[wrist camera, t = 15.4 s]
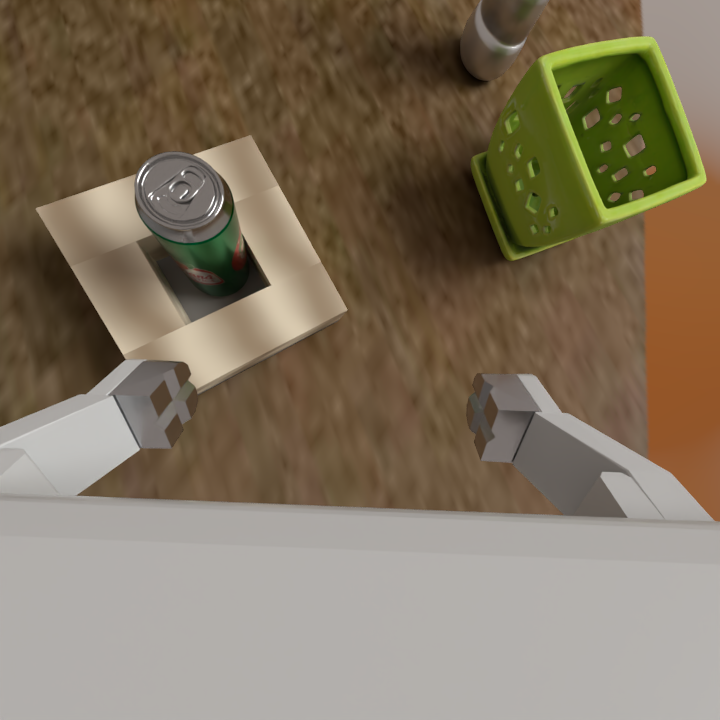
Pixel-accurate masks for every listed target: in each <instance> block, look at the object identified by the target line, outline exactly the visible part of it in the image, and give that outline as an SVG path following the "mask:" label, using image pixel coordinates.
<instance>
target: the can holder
mask: <svg viewBox="0 0 720 720" xmlns="http://www.w3.org/2000/svg"><path fill="white" fill-rule="evenodd" d="M194 155H195V156H197V157H199V158H201V159H202V160H204V161H205V162H207V163H208V164H209V165H210V166H211V167H212V168H213V169H214V170H215V171H216V172H218V173H219V174H220V175H221V176H222V177H223V179H224V180H225V181H226V183H227V184H228V186H229V188H230V190H231V192H232V195H233V199H234V203H235V207H236V212H237V216H238V220H239V224H240V228H241V233H242V237H243V241H244V245H245V249H246V254H247V258H248V262H249V268H250V271H249V277H248V280H247V282H246V283H245V285H244V286H243V287H242V288H241V289H240V290H239V291H237V292H236V293H234V294H231V295H229V296H222V297H217V296H211V295H208V294H205V293H203V292H202V291H200V290H199V289H197V288H196V287H195V286H194V285H193V284H192V282H191V281H190V280H189V279H188V277H187V276H186V275H185V274H184V272H183V271H182V270H181V269H180V268H179V266H178V265H177V264H176V263H175V261H174V260H173V259H172V258H171V256H170V255H169V254H168V253H167V252H166V250H165V249H164V248H163V247H162V245H161V244H160V243H159V242H158V240H157V239H156V238H155V237H154V236H153V234H152V233H151V232H150V231H149V229H148V228H147V227H146V226H145V224H144V223H143V221H142V220H141V218H140V217H139V214H138V212H137V209H136V205H135V189H134V183H135V178H136V175H137V174H135V175H132V176H130V177H127V178H124V179H121V180H118V181H115V182H112V183H109V184H106V185H103V186H100V187H97V188H94V189H91V190H88V191H86V192H83V193H80V194H77V195H74V196H71V197H68V198H65V199H62V200H59V201H56V202H53V203H50V204H47V205H44V206H42V207H39V208H36V210H37V212H38V213H39V215H40V217H41V218H42V220H43V222H44V223H45V225H46V227H47V228H48V230H49V232H50V233H51V235H52V237H53V238H54V240H55V242H56V243H57V245H58V247H59V248H60V250H61V252H62V253H63V255H64V257H65V258H66V260H67V262H68V263H69V265H70V267H71V269H72V270H73V272H74V274H75V275H76V277H77V279H78V280H79V282H80V284H81V285H82V287H83V289H84V290H85V292H86V294H87V295H88V297H89V299H90V300H91V302H92V304H93V305H94V307H95V309H96V310H97V312H98V314H99V315H100V317H101V319H102V320H103V322H104V324H105V325H106V327H107V329H108V330H109V332H110V334H111V335H112V337H113V339H114V340H115V342H116V344H117V345H118V347H119V349H120V350H121V352H122V354H123V355H124V357H125V359H126V360H129V359H146V360H164V361H181V362H185V363H186V364H188V366H189V369H190V372H191V376H190V378H189V379H188V381H190V382H191V383H192V384H193V385H194V386H195V387H196V390H197V394H198V395H199V394H201V393H203V392H205V391H207V390H209V389H211V388H212V387H214V386H216V385H218V384H220V383H222V382H224V381H226V380H228V379H229V378H231V377H233V376H235V375H237V374H239V373H241V372H243V371H245V370H246V369H248V368H250V367H252V366H254V365H256V364H258V363H260V362H262V361H263V360H265V359H267V358H269V357H271V356H273V355H275V354H277V353H279V352H281V351H282V350H284V349H286V348H288V347H290V346H292V345H294V344H296V343H298V342H299V341H301V340H303V339H305V338H307V337H309V336H311V335H313V334H315V333H316V332H318V331H320V330H322V329H324V328H326V327H328V326H330V325H332V324H333V323H335V322H337V321H338V320H339V319H340V318H341V317H342V316H343V315H344V313H345V312H346V311H347V308H346V306H345V304H344V303H343V301H342V299H341V297H340V295H339V294H338V292H337V290H336V288H335V286H334V285H333V283H332V281H331V279H330V277H329V276H328V274H327V272H326V270H325V268H324V266H323V265H322V263H321V261H320V259H319V257H318V256H317V254H316V252H315V250H314V248H313V247H312V245H311V243H310V241H309V239H308V238H307V236H306V234H305V232H304V230H303V229H302V227H301V225H300V223H299V221H298V220H297V218H296V216H295V214H294V212H293V211H292V209H291V207H290V205H289V203H288V201H287V200H286V198H285V196H284V194H283V192H282V191H281V189H280V187H279V185H278V183H277V182H276V180H275V178H274V176H273V174H272V173H271V171H270V169H269V167H268V165H267V164H266V162H265V160H264V158H263V156H262V155H261V153H260V151H259V149H258V147H257V146H256V144H255V142H254V140H253V138H252V137H251V135H250V136H247V137H244V138H241V139H238V140H235V141H232V142H229V143H226V144H223V145H221V146H218V147H215V148H212V149H209V150H206V151H203V152H200V153H197V154H194Z"/></svg>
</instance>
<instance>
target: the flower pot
mask: <svg viewBox="0 0 720 720" xmlns="http://www.w3.org/2000/svg"><path fill="white" fill-rule="evenodd" d="M574 86H577V87H576V88H575V89H574V91H573V92H572V93H571V94H570V96H568V97H567V98H564V96H565V95H566V94H567V92H568V91H569V90H570V89H571V88H572V87H574ZM617 87H621V88H622V96H621V99H620V100H619V101H616V102H612V103H610V102H609V91H610V90H611V89H614V88H617ZM575 101H576V102H575ZM573 102H575V103H574V104H573V105H572V106H571V107H569V106H570V105H571V104H572V103H573ZM568 107H569V108H568ZM567 108H568V109H567ZM596 108H597V109H598V111H599V114H600V121H599V122H597V123H596V124H595V125H594V126H593V127H591V128H589V129H588V128H587V126H586V122H585V116H587V115H588V114H589V113H590V112H591V111H593V110H594V109H596ZM566 109H567V110H566ZM616 114H621V115H622V118H621V120H620V121H619V122H618V123H617V124H613V123H611V120H612V119H613V118H614V116H615V115H616ZM635 114H640V117H639V119H638V120H632V117H633V116H634V115H635ZM638 134H640V135H642V138H643V140H644V143H645V146H646V147H645V148H644V149H643V150H642V151H641V152H639V153H638V154H636V155H635V156H632V157H631V156H630V155H629V153H628V151H627V149H626V147H625V145H626V144H627V143H628V142H629V141H630V140H631V139H633V138H634V137H635V136H637V135H638ZM607 141H610V142H611V145H612V148H611V149H610V150H608V151H604V150H603V143H605V142H607ZM604 164H606V165H607V166H608V168H607V170H606V171H604V172H603V173H601V172H600V171H599V168H600V167H601V166H603V165H604ZM651 166H655V167H656V172H655V173H654V174H652V175H647V174H646V169H648V168H649V167H651ZM623 168H626V169H627V171H628V174H627V175H626V176H625V177H623V178H622V179H621V180H618V181H617V180H616V178H615V177H614V174H616V173H617V172H618V171H620V170H621V169H623ZM471 171H472V175H473V178H474V180H475V183H476V186H477V189H478V191H479V194H480V197H481V199H482V202H483V205H484V208H485V210H486V213H487V215H488V218H489V221H490V223H491V226H492V229H493V231H494V234H495V236H496V239H497V241H498V244H499V246H500V249H501V251H502V253H503V255H504V257H505V258H506V259H507V260H509V261H513V260H517V259H520V258H523V257H526V256H529V255H532V254H535V253H538V252H540V251H543V250H546V249H549V248H551V247H554V246H556V245H559V244H562V243H565V242H567V241H570V240H573V239H575V238H578V237H580V236H583V235H586V234H589V233H592V232H594V231H597V230H600V229H603V228H605V227H608V226H611V225H613V224H616V223H618V222H621V221H623V220H626V219H628V218H630V217H633V216H635V215H638V214H640V213H642V212H645V211H647V210H650V209H652V208H654V207H656V206H659V205H661V204H664V203H666V202H669V201H671V200H674V199H676V198H678V197H680V196H682V195H685V194H687V193H689V192H690V191H693V190H695V189H697V188H698V187H700V186H702V185H703V184H704V183H705V182H706V175H705V171H704V167H703V164H702V161H701V158H700V155H699V152H698V149H697V146H696V143H695V141H694V138H693V135H692V132H691V129H690V126H689V124H688V121H687V118H686V115H685V113H684V110H683V107H682V105H681V102H680V99H679V97H678V95H677V92H676V89H675V86H674V84H673V81H672V78H671V76H670V73H669V71H668V68H667V66H666V63H665V61H664V58H663V56H662V54H661V51H660V49H659V47H658V45H657V43H656V41H655V39H654V38H652V37H630V38H622V39H615V40H609V41H602V42H596V43H591V44H586V45H581V46H576V47H572V48H568V49H564V50H560V51H557V52H553V53H550V54H547V55H544V56H542V57H540V58H539V59H537V60H536V61H535V62H534V63H533V65H532V66H531V67H530V68H529V70H528V71H527V72H526V74H525V75H524V77H523V78H522V80H521V81H520V83H519V84H518V86H517V87H516V89H515V91H514V92H513V94H512V96H511V97H510V99H509V100H508V102H507V104H506V106H505V108H504V110H503V112H502V113H501V115H500V117H499V119H498V122H497V124H496V126H495V128H494V131H493V134H492V137H491V140H490V143H489V147H488V151H487V152H484V153H481V154H478V155H475V156H474V157H472V159H471ZM636 190H643V193H644V197H643V198H640V199H637V200H632V192H633V191H636ZM613 193H620V194H621V196H620V198H619V199H618V200H617V201H612V200H610V197H611V195H612V194H613Z"/></svg>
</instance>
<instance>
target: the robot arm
mask: <svg viewBox="0 0 720 720" xmlns="http://www.w3.org/2000/svg"><path fill="white" fill-rule="evenodd" d="M190 376H191V372H190V369H189V366H188V364H186V363H185V362H181V361H164V360H146V359H129V360H125V361H124V362H122V363H121V364H120V365H119V366H118V367H117V368H116V369H114V370H113V371H112V372H111V373H110V374H109V375H108V376H107V377H105V378H104V379H103V380H102V381H101V382H100V383H99V384H97V385H96V386H95V387H94V388H93V389H92V390H91V391H90V392H88V393H87V394H86V395H83V394H80V395H77V396H75V397H72V398H70V399H68V400H65V401H63V402H60V403H58V404H55V405H53V406H51V407H48V408H46V409H43V410H41V411H38V412H36V413H34V414H31V415H29V416H26V417H24V418H21V419H19V420H16V421H14V422H12V423H9V424H7V425H4V426H2V427H0V720H720V522H715V521H714V520H713V519H712V518H711V517H710V516H709V515H708V513H707V512H706V511H705V510H704V509H703V508H702V507H701V506H700V505H699V504H698V502H697V501H696V500H695V499H694V498H693V497H692V496H691V495H690V494H689V493H688V491H687V490H686V489H685V488H684V487H683V486H682V485H681V484H680V483H679V482H678V480H677V479H676V478H675V477H674V476H673V475H672V474H671V473H669V472H668V471H666V470H664V469H663V468H661V467H659V466H658V465H656V464H654V463H652V462H651V461H649V460H647V459H646V458H644V457H642V456H640V455H639V454H637V453H635V452H634V451H632V450H630V449H628V448H627V447H625V446H623V445H622V444H620V443H618V442H616V441H615V440H613V439H611V438H610V437H608V436H606V435H604V434H603V433H601V432H599V431H598V430H596V429H594V428H592V427H591V426H589V425H587V424H586V423H584V422H582V421H580V420H579V419H577V418H575V417H574V416H572V415H570V414H568V413H562V412H561V411H560V409H559V408H558V407H557V405H556V404H555V402H554V401H553V400H552V398H551V397H550V395H549V394H548V393H547V391H546V390H545V388H544V387H543V386H542V384H541V383H540V381H539V380H538V379H537V377H536V376H534V375H533V374H482V373H477V374H476V376H475V378H474V381H473V384H472V386H473V388H474V390H475V393H473V394H472V395H471V396H470V397H469V399H468V403H467V411H466V417H467V423H468V426H469V429H470V430H471V431H472V432H474V433H475V434H476V436H475V440H474V443H475V446H476V449H477V452H478V454H479V457H480V460H481V461H494V462H509V463H513V465H514V466H515V467H516V468H517V469H518V470H519V471H520V472H521V473H522V474H523V475H524V476H525V477H526V478H527V479H528V480H529V481H530V482H531V483H532V484H533V485H534V486H535V487H536V488H537V489H538V490H539V491H540V492H541V493H542V494H543V495H544V496H545V497H546V498H547V499H548V500H549V501H550V502H552V503H553V504H554V505H555V506H556V507H557V508H558V509H559V510H560V511H561V512H562V513H563V514H564V515H540V514H515V513H490V512H466V511H441V510H416V509H391V508H366V507H341V506H316V505H291V504H266V503H241V502H217V501H192V500H167V499H142V498H117V497H91V496H76V495H77V494H79V493H80V492H82V491H83V490H84V489H86V488H87V487H89V486H90V485H91V484H93V483H94V482H96V481H97V480H98V479H100V478H101V477H103V476H104V475H105V474H107V473H108V472H109V471H111V470H112V469H114V468H115V467H116V466H118V465H119V464H121V463H122V462H123V461H125V460H126V459H128V458H129V457H130V456H132V455H133V454H134V453H136V452H137V451H139V450H140V448H172V447H173V446H174V444H175V443H176V441H177V439H178V438H179V436H180V435H181V433H182V432H183V426H182V424H183V423H184V422H186V421H188V420H189V419H191V418H192V416H193V414H194V413H195V411H196V407H197V403H198V394H197V390H196V387H195V386H194V385H193V384H192V383H191V382H190V381H188V379H189V378H190Z"/></svg>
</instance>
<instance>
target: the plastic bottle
mask: <svg viewBox="0 0 720 720" xmlns="http://www.w3.org/2000/svg"><path fill="white" fill-rule="evenodd" d="M548 1H549V0H481V1H480V2H479V4H478V5H477V6H476V8H475V9H474V11H473V13H472V14H471V16H470V17H469V19H468V20H467V23H466V25H465V28H464V31H463V34H462V37H461V41H460V55H461V60H462V62H463V65H464V66H465V68H466V69H467V71H468V72H469V73H470V74H471V75H472V76H474V77H475V78H477V79H479V80H483V81H490V80H493V79H496V78H498V77H500V76H501V75H502V74H504V72H505V71H506V70H507V69H508V68H509V67H510V66H511V65H512V64H513V63H514V61H515V59H516V58H517V56H518V54H519V52H520V50H521V49H522V47H523V45H524V43H525V41H526V38H527V36H528V34H529V32H530V31H531V29H532V27H533V26H534V24H535V23H536V21H537V19H538V18H539V16H540V14H541V13H542V11H543V9H544V8H545V6H546V4H547V3H548Z"/></svg>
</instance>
